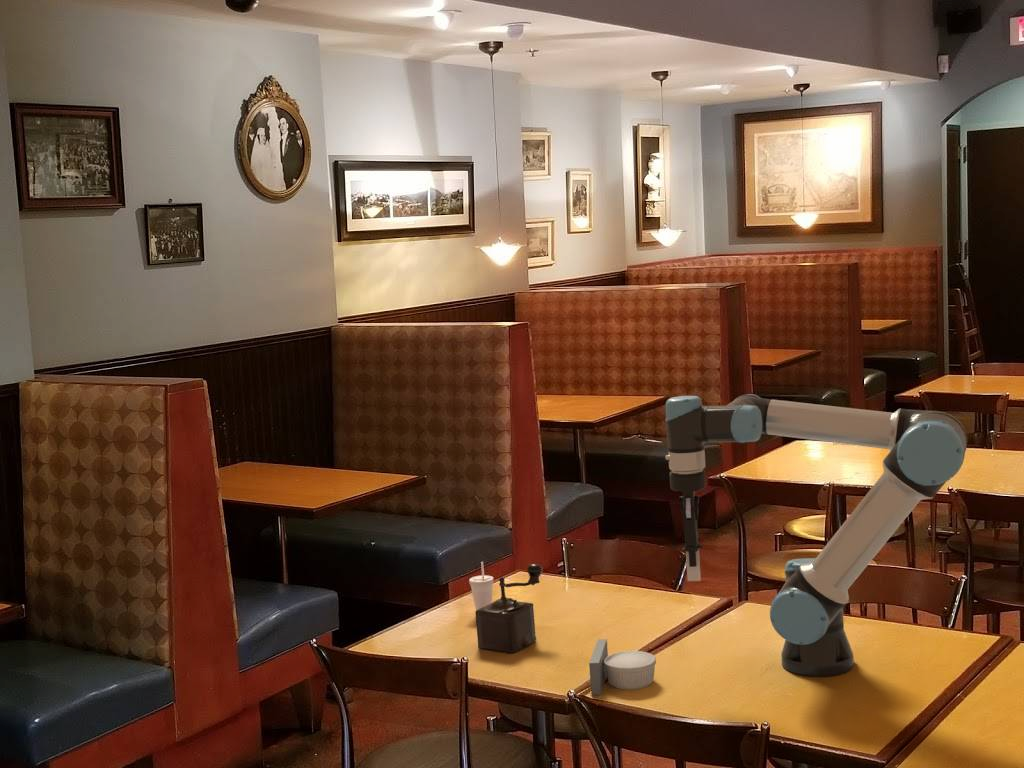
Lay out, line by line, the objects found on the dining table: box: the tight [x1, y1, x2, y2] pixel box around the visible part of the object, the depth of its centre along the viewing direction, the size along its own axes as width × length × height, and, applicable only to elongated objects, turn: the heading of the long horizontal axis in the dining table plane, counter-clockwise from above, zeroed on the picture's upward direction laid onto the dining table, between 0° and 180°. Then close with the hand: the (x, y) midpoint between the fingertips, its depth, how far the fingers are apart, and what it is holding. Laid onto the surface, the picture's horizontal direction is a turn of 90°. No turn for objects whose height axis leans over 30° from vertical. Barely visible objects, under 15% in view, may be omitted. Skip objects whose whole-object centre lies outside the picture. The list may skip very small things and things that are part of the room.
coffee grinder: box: [475, 563, 544, 655], centre depth 292 cm, size 16×11×18 cm
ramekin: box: [603, 650, 657, 691], centre depth 261 cm, size 11×11×5 cm
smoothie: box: [468, 561, 495, 611], centre depth 315 cm, size 6×6×14 cm
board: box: [588, 638, 609, 696], centre depth 262 cm, size 2×15×7 cm, turn 169°
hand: (694, 579), depth 258 cm, fingers closed
